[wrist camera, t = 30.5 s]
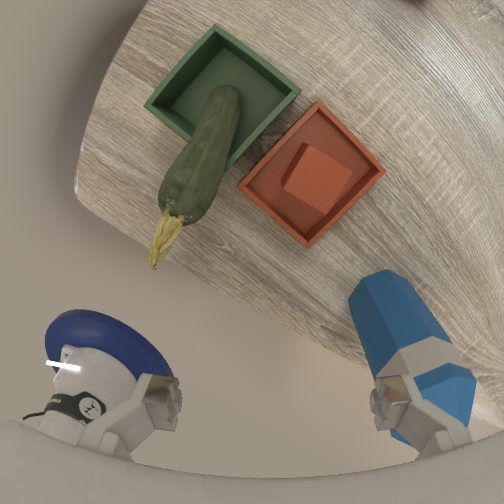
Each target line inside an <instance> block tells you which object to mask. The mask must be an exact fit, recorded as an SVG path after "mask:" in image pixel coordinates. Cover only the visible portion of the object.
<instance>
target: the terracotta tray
mask: <svg viewBox="0 0 504 504" xmlns="http://www.w3.org/2000/svg"><path fill="white" fill-rule="evenodd" d="M303 142H304V143H307V144H309V145H311V146H313V147H315V148H316V149H318V150H319V151H321V152H323V153H324V154H326V155H328V156H329V157H331V158H332V159H334V160H336V161H337V162H339V163H340V164H342V165H343V166H345V167H347V168H348V169H350V170H351V171H353V174H352V175H351V177H350V179H349V180H348V182H347V183H346V185H345V187H344V188H343V190H342V191H341V193H340V195H339V196H338V198H337V199H336V201H335V203H334V204H333V206H332V207H331V209H330V211H329V212H328V214H327V215H325V214H323V213H322V212H320V211H318V210H317V209H315V208H313V207H312V206H310V205H308V204H306V203H305V202H303V201H301V200H299V199H298V198H296V197H294V196H292V195H291V194H289V193H287V192H285V191H284V190H282V186H281V181H280V180H281V179H282V177H283V175H284V173H285V172H286V170H287V168H288V167H289V165H290V163H291V162H292V160H293V158H294V156H295V155H296V153H297V151H298V150H299V148H300V146H301V145H302V143H303ZM385 172H386V170H385V169H384V168H383V167H382V165H381V164H380V163H379V162H378V161H377V160H376V159H375V157H374V156H373V155H372V154H371V153H370V152H369V151H368V150H367V149H366V148H365V146H364V145H363V144H362V143H361V142H360V141H359V140H358V139H357V138H356V137H355V136H354V135H353V134H352V133H351V132H350V131H349V130H348V129H347V128H346V127H345V126H344V125H343V124H342V123H341V122H340V121H339V120H338V119H337V118H336V117H335V116H334V115H333V114H332V113H331V112H330V111H329V110H328V109H327V108H326V107H325V106H324V105H323V104H322V103H321V102H320V101H317V102H315V103H313V104H312V105H311V106H310V107H309V108H308V109H307V110H306V111H305V112H304V113H303V114H302V116H301V117H300V118H299V119H298V120H297V121H296V122H295V123H294V124H293V125H292V126H291V127H290V128H289V129H288V130H287V131H286V132H285V133H284V134H283V135H282V136H281V137H280V138H279V139H278V140H277V141H276V143H275V144H274V145H273V146H272V147H271V148H270V149H269V150H268V151H267V152H266V153H265V154H264V155H263V156H262V158H261V159H260V160H259V161H258V162H257V163H256V164H255V165H254V166H253V167H252V168H251V169H250V171H249V172H248V173H247V174H246V175H245V176H244V177H243V178H242V179H241V181H240V182H239V184H238V185H237V188H239V189H240V190H241V191H242V192H243V193H244V194H246V195H247V196H248V197H249V198H250V199H251V200H252V201H254V202H255V203H256V204H257V205H258V206H259V207H261V208H262V209H263V210H264V211H265V212H266V213H267V214H268V215H270V216H271V217H272V218H273V219H274V220H275V221H276V222H278V223H279V224H280V225H281V226H282V227H283V228H284V229H285V230H287V231H288V232H289V233H290V234H291V235H292V236H293V237H294V238H295V239H297V240H298V241H299V242H300V243H301V244H302V245H303V246H304V247H305V248H306V249H309V248H310V247H311V246H312V245H313V244H314V243H315V242H316V241H317V240H318V239H319V238H320V237H321V236H322V235H323V234H324V233H325V232H326V231H327V230H328V229H329V228H330V227H332V226H333V225H334V224H335V223H336V222H337V221H338V220H339V219H340V218H341V217H342V216H343V215H344V214H345V213H346V212H347V211H348V210H349V209H350V208H351V207H352V206H353V205H354V204H355V203H356V202H357V201H358V200H359V199H360V198H361V197H362V196H363V195H364V194H365V193H366V192H367V191H368V190H369V189H370V188H371V187H372V186H373V185H374V184H375V182H376V181H377V180H378V179H379V178H380V177H381V176H382V175H383V174H384V173H385Z"/></svg>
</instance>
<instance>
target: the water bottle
mask: <svg viewBox="0 0 504 504" xmlns="http://www.w3.org/2000/svg"><path fill="white" fill-rule="evenodd" d="M348 302H349V306H350V310H351V314H352V318H353V322H354V324H355V327H356V330H357V332H358V335H359V338H360V341H361V344H362V346H363V349H364V352H365V355H366V358H367V361H368V363H369V366H370V369H371V372H372V375H373V378H374V381H376V379H377V378H378V377H386V376H394V375H402V374H409V373H410V374H411V375H412V377H413V379H414V381H415V383H416V385H417V387H418V389H419V391H420V393H421V396H422V398H423V399H427V400H428V401H430V402H431V403H433V404H434V405H436V406H438V407H439V408H441V409H442V410H444V411H445V412H447V413H448V414H450V415H451V416H453V417H454V418H456V419H457V420H459V421H461V422H462V423H463V424H464V426H465V428H466V430H467V432H468V435H469V437H470V439H471V441H472V443H473V442H474V440H473V438H472V436H471V434H470V431H469V429H468V423H469V419H470V415H471V410H472V405H473V400H474V394H475V388H476V382H477V381H476V379H475V378H474V376H473V374H472V373H471V371H470V369H469V368H468V366H467V365H466V363H465V361H464V360H463V358H462V357H461V355H460V354H459V352H458V351H457V349H456V347H455V346H454V344H453V343H452V341H451V340H450V338H449V337H448V336H447V334H446V333H445V331H444V330H443V328H442V327H441V325H440V324H439V323H438V321H437V320H436V318H435V317H434V315H433V314H432V313H431V311H430V310H429V309H428V307H427V306H426V304H425V303H424V302H423V300H422V299H421V298H420V296H419V295H418V294H417V292H416V291H415V290H414V288H413V287H412V286H411V284H410V283H409V282H408V281H407V279H405V278H403V277H401V276H399V275H397V274H395V273H393V272H391V271H389V270H385V271H382V272H379V273H376V274H373V275H371V276H368V277H365V278H362V280H361V281H360V283H359V284H358V286H357V287H356V289H355V290H354V292H353V293H352V295H351V296H350V298H349V299H348ZM395 429H396V428H395ZM395 429H390V433H391V436H392V437H393V438H395V439H397V440H399V441H401V442H403V443H405V444H408V445H410V446H412V445H411V444H410V443H409V442H408V441H407V440H406V439H405V438H404V437H403V436H402V435H400V434H399V433H398V432H397V431H396V430H395ZM412 447H413V446H412Z"/></svg>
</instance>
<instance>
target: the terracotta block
mask: <svg viewBox="0 0 504 504" xmlns="http://www.w3.org/2000/svg"><path fill="white" fill-rule="evenodd" d="M352 174H353V171H351V170H350V169H348V168H347V167H345V166H343V165H342V164H340V163H339V162H337V161H336V160H334V159H332V158H331V157H329V156H328V155H326V154H324V153H323V152H321V151H319V150H318V149H316V148H315V147H313V146H311V145H309V144H307V143H304V142H303V143H302V145H301V146H300V148H299V150H298V151H297V153H296V155H295V156H294V158H293V160H292V162H291V163H290V165H289V167H288V168H287V170H286V172H285V173H284V175H283V177H282V179H281V180H280V181H281V186H282V190H284V191H285V192H287V193H289V194H291V195H292V196H294V197H296V198H298V199H299V200H301V201H303V202H305V203H306V204H308V205H310V206H312V207H313V208H315V209H317V210H318V211H320V212H322V213H323V214H325V215H327V214H328V212H329V211H330V209H331V207H332V206H333V204H334V203H335V201H336V199H337V198H338V196H339V195H340V193H341V191H342V190H343V188H344V187H345V185H346V183H347V182H348V180H349V179H350V177H351V175H352Z"/></svg>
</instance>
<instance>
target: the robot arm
mask: <svg viewBox="0 0 504 504" xmlns="http://www.w3.org/2000/svg"><path fill="white" fill-rule="evenodd" d="M46 364H49V365H53V366H58V367H60V368H59V371H58V373H57V374H56V376H55V378H54V379H53V382H54V385H53V388H54V395H53V396H52V398H51V399H50V400H49V401H48V403H47V405H46V408H45V410H44V412H40V413H34V414H29V415H27V416H25V417H23V420H25V419H27V418H29V417H33V416H40V415H44V417H43V418H42V419H41V421H40V423H39V424H38V426H37V428H36V430H35V429H33V428H30V427H28V426H26V425H24V424H22V423H20V422H18V421H15V420H8V421H5V422H2V423H0V504H504V430H503V431H500V432H498V433H496V434H493V435H491V436H488V437H486V438H484V439H481V440H479V441H476V442H473V443H472V441H471V439H470V437H469V435H468V432H467V430H466V428H465V426H464V424H463V423H462V422H461V421H459V420H457V419H456V418H454V417H453V416H451V415H450V414H448V413H447V412H445V411H444V410H442V409H441V408H439V407H438V406H436V405H434V404H433V403H431V402H430V401H428V400H427V399H423V398H422V396H421V393H420V391H419V389H418V387H417V385H416V383H415V381H414V379H413V377H412V375H411V374H410V373H409V374H402V375H394V376H386V377H378V378H377V379H376V381H375V387H376V388H375V389H374V390H373V391H372V392H371V395H370V407H371V411H372V412H373V413H374V414H376V416H375V418H374V421H375V425H376V428H377V431H381V430H388V429H395V428H396V429H395V430H396V431H397V432H398V433H399V434H400V435H402V436H403V437H404V438H405V439H406V440H407V441H408V442H409V443H410V444H411V445H412V446H413V447H414V448H415V449H416V450H417V451H419V453H420V454H419V455H418V457H417V458H416V459H415V461H412V462H408V463H403V464H399V465H394V466H389V467H384V468H379V469H373V470H367V471H362V472H355V473H347V474H339V475H328V476H316V477H301V478H300V477H299V478H243V477H242V478H241V477H226V476H214V475H205V474H196V473H188V472H181V471H175V470H169V469H163V468H158V467H153V466H148V465H143V464H139V463H135V462H134V460H133V459H132V457H131V456H130V454H129V453H131V452H132V451H133V450H134V449H135V448H136V447H137V446H138V445H140V444H141V443H142V442H143V441H144V440H145V439H146V438H147V437H148V436H150V435H151V434H152V433H153V432H154V431H155V429H158V430H165V431H173V432H175V428H176V425H177V422H178V418H177V414H178V413H179V412H180V411H181V407H182V393H181V390H179V389H178V386H179V381H178V378H175V377H168V376H161V375H153V374H147V373H142V374H141V375H140V377H139V379H138V382H137V381H136V379H135V377H134V376H133V374H132V373H131V372H130V371H129V369H128V368H127V367H126V366H125V365H123V364H122V363H121V362H120V361H118V360H117V359H116V358H114V357H113V356H111V355H109V354H107V353H105V352H103V351H101V350H98V349H95V348H89V347H81V348H78V347H74V346H71V345H68V344H65V345H64V346H63V348H62V352H61V360H60V363H57V362H52V361H47V362H46Z"/></svg>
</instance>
